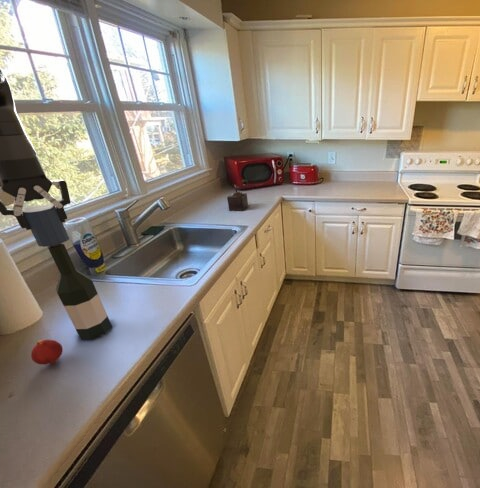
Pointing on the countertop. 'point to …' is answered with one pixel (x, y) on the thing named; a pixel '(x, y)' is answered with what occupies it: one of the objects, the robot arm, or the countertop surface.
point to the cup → (45, 225)
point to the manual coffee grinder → (238, 199)
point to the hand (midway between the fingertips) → (46, 224)
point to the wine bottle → (79, 297)
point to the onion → (46, 352)
